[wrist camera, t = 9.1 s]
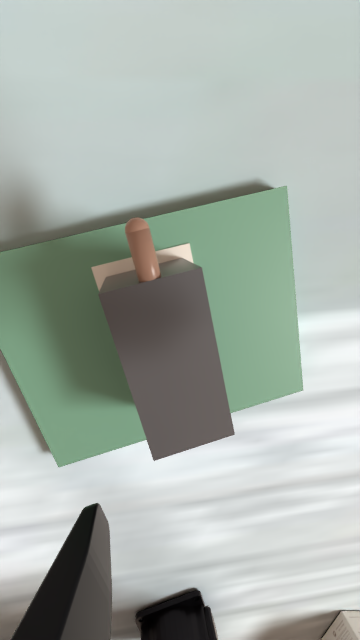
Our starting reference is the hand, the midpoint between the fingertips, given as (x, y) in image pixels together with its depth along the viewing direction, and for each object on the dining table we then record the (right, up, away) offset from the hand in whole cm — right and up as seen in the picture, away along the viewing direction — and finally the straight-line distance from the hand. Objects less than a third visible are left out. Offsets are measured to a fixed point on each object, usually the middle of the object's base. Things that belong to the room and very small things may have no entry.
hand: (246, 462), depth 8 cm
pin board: (-3, +4, +10) cm, 11 cm away
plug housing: (-3, +4, +8) cm, 10 cm away
